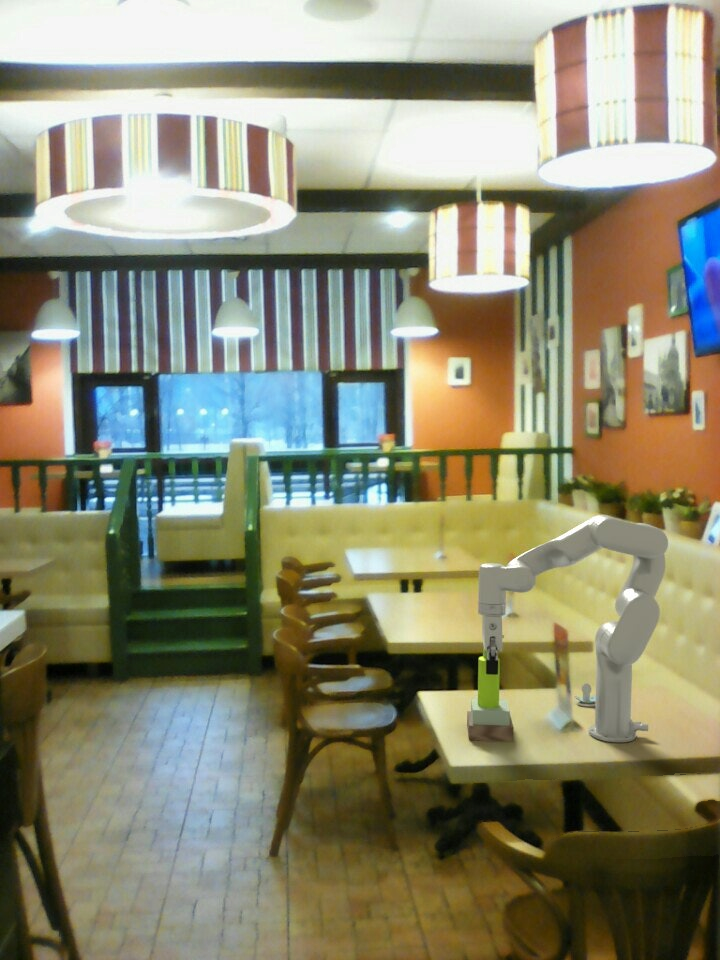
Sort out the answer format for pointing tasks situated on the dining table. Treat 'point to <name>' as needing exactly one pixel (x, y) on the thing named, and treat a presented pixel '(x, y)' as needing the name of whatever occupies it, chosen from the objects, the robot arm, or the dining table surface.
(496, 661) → the robot arm
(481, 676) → the soap dispenser
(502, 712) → the pale green square tile
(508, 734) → the riser base
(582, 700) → the pacifier
